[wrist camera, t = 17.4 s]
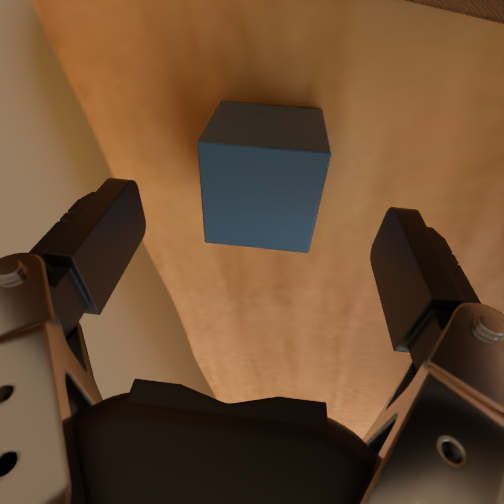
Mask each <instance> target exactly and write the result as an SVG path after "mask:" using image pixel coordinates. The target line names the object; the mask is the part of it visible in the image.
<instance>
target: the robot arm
mask: <svg viewBox="0 0 504 504" xmlns="http://www.w3.org/2000/svg"><path fill="white" fill-rule="evenodd" d="M145 229H146V220H145V216H144V211H143V207H142V203H141V198H140V194H139V189H138V186H137V184H136V182H135V181H134V180H125V179H115V178H109V179H107V180H106V181H105V182H104V184H103V185H102V186H101V187H100V188H99V189H98V190H97V191H96V192H92V193H90V194H88V195H86V196H84V197H82V198H81V199H79V200H77V202H76V203H75V204H74V205H73V206H72V207H71V208H70V209H69V210H68V213H65V214H64V215H63V216H62V217H61V219H60V222H57V223H56V224H55V225H54V226H53V227H52V228H51V229H50V231H48V232H47V234H46V235H45V236H44V237H43V238H42V239H41V240H40V241H39V242H38V243H37V244H36V245H35V246H34V247H33V248H32V249H31V251H30V252H29V253H17V254H12V255H8V256H5V257H2V258H0V504H504V314H502V313H501V312H499V311H497V310H496V309H494V308H491V307H489V306H486V305H483V304H481V302H480V301H479V299H478V297H477V295H476V293H475V292H474V290H473V288H472V286H471V285H470V283H469V281H468V279H467V277H466V276H465V274H464V272H463V270H462V269H461V267H460V266H459V265H458V261H457V260H456V258H455V256H454V255H452V251H451V249H450V247H449V245H448V244H447V242H446V240H445V239H444V238H443V237H442V236H441V235H440V234H439V233H437V232H436V231H435V230H434V229H433V228H431V227H427V226H426V224H425V222H424V220H423V218H422V217H421V215H420V213H419V211H418V210H415V209H405V208H395V207H391V208H389V209H388V211H387V212H386V214H385V217H384V219H383V221H382V224H381V226H380V228H379V231H378V233H377V235H376V238H375V240H374V242H373V245H372V248H371V254H370V261H371V266H372V270H373V273H374V277H375V281H376V285H377V289H378V292H379V296H380V300H381V304H382V308H383V311H384V315H385V319H386V323H387V327H388V331H389V334H390V338H391V342H392V346H393V350H394V351H400V352H409V353H410V355H411V359H412V361H411V363H410V364H409V365H408V366H407V368H406V370H405V372H404V373H403V375H402V377H401V378H400V380H399V382H398V384H397V385H396V387H395V389H394V390H393V392H392V394H391V396H390V397H389V399H388V401H387V403H386V404H385V406H384V408H383V409H382V411H381V413H380V414H379V416H378V418H377V419H376V420H375V422H374V423H373V425H372V426H371V427H370V429H369V430H368V432H367V433H366V435H365V436H364V438H363V439H361V438H360V437H359V436H358V435H356V434H355V433H354V432H352V431H351V430H350V429H348V428H347V427H346V426H344V425H342V424H340V423H339V422H337V421H335V420H333V419H331V418H328V417H327V408H326V403H325V402H317V401H309V400H301V399H293V398H285V397H273V398H266V399H259V400H252V401H245V402H239V403H231V404H229V403H224V402H221V401H219V400H216V399H214V398H212V397H209V396H207V395H205V394H202V393H200V392H197V391H195V390H193V389H191V388H188V387H186V386H183V385H181V384H172V383H165V382H157V381H149V380H141V379H135V380H134V382H133V385H132V387H131V390H130V392H129V393H124V394H120V395H116V396H113V397H110V398H107V399H105V400H103V399H102V397H101V394H100V392H99V390H98V388H97V385H96V382H95V379H94V376H93V372H92V368H91V364H90V360H89V356H88V352H87V348H86V344H85V340H84V336H83V332H82V327H81V325H80V323H79V320H80V319H81V317H82V315H83V314H84V313H89V314H97V315H100V314H101V312H102V310H103V308H104V307H105V305H106V303H107V301H108V299H109V298H110V296H111V294H112V292H113V290H114V289H115V287H116V285H117V283H118V281H119V280H120V278H121V276H122V275H123V273H124V271H125V269H126V267H127V266H128V264H129V262H130V260H131V258H132V257H133V255H134V253H135V251H136V249H137V248H138V246H139V244H140V242H141V241H142V239H143V237H144V234H145Z"/></svg>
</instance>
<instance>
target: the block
mask: <svg viewBox="0 0 504 504" xmlns="http://www.w3.org/2000/svg"><path fill="white" fill-rule="evenodd" d="M197 146H198V159H199V172H200V184H201V197H202V210H203V222H204V235H205V242H207V243H216V244H226V245H236V246H245V247H255V248H265V249H274V250H284V251H293V252H303V253H308V252H309V248H310V244H311V240H312V235H313V231H314V227H315V222H316V218H317V214H318V209H319V205H320V201H321V196H322V192H323V187H324V183H325V179H326V174H327V170H328V166H329V161H330V157H331V152H330V146H329V141H328V136H327V131H326V126H325V121H324V116H323V111H322V109H313V108H301V107H288V106H276V105H263V104H251V103H239V102H226V101H221V102H220V104H219V106H218V108H217V109H216V111H215V113H214V114H213V116H212V118H211V119H210V121H209V123H208V125H207V126H206V128H205V130H204V131H203V133H202V135H201V136H200V138H199V140H198V142H197Z"/></svg>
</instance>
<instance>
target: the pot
mask: <svg viewBox="0 0 504 504" xmlns="http://www.w3.org/2000/svg"><path fill="white" fill-rule="evenodd" d="M406 1H410V2H414V3H418V4H422V5H427V6H431V7H435V8H439V9H443V10H447V11H451V12H455V13H460V14H464V15H468V16H472V17H476V18H480V19H485V20H489V21H493V22H497V23H501V24H504V0H406Z"/></svg>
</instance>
